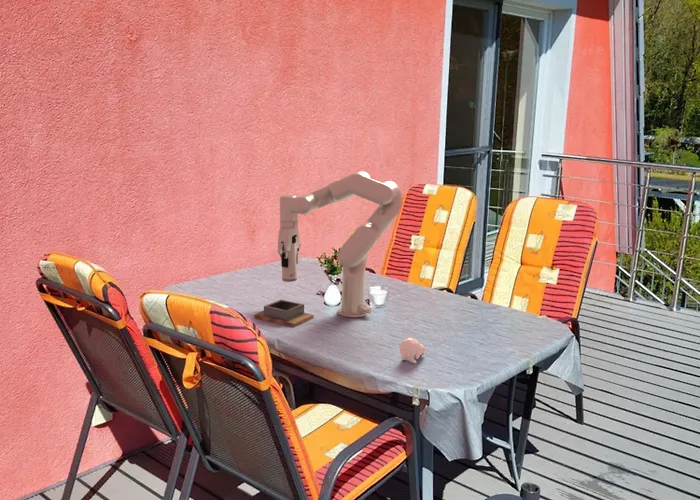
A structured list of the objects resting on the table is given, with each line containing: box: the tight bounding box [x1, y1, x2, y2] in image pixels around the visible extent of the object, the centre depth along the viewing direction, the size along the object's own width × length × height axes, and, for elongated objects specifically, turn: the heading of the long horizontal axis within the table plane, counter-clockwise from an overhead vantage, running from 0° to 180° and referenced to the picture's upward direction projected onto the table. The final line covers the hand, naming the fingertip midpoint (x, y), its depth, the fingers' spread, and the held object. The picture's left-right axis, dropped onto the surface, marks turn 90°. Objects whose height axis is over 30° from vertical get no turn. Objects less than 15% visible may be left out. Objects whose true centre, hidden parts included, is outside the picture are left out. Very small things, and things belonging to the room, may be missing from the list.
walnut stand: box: [253, 310, 315, 328], centre depth 278 cm, size 20×14×2 cm
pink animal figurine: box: [399, 337, 426, 364], centre depth 237 cm, size 6×8×12 cm
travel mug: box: [281, 235, 298, 283], centre depth 289 cm, size 6×7×20 cm
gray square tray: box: [263, 299, 305, 321], centre depth 277 cm, size 12×12×4 cm
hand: (289, 265), depth 290 cm, fingers closed on travel mug, 6 cm apart
